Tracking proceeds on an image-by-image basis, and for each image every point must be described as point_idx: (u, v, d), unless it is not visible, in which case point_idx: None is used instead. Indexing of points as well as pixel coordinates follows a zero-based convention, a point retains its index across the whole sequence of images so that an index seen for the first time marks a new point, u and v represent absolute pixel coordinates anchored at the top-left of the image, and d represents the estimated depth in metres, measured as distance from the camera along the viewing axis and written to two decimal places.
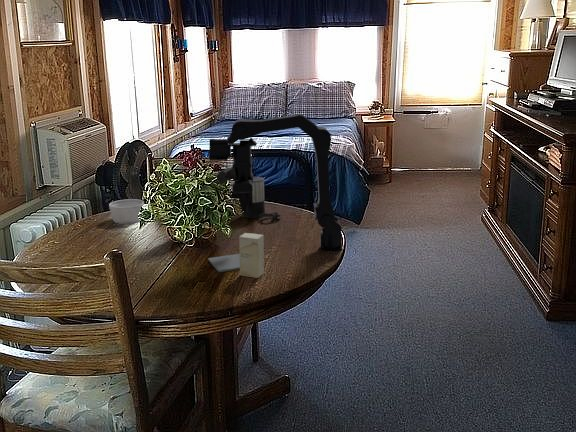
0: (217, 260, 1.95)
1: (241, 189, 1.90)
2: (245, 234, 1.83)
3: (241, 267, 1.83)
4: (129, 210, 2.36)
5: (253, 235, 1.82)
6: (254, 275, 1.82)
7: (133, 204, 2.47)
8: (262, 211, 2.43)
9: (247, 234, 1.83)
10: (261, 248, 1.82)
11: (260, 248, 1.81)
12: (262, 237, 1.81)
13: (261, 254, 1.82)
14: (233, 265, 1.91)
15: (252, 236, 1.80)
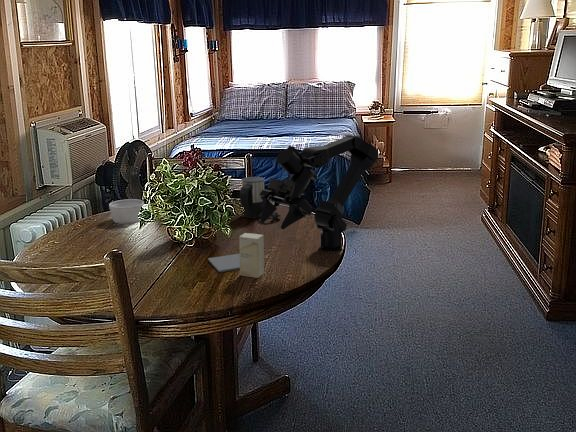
0: (217, 260, 1.95)
1: (306, 208, 1.81)
2: (245, 234, 1.83)
3: (241, 267, 1.83)
4: (129, 210, 2.36)
5: (253, 235, 1.82)
6: (254, 275, 1.82)
7: (133, 204, 2.47)
8: None
9: (247, 234, 1.83)
10: (261, 248, 1.82)
11: (260, 248, 1.81)
12: (262, 237, 1.81)
13: (261, 254, 1.82)
14: (233, 265, 1.91)
15: (252, 236, 1.80)
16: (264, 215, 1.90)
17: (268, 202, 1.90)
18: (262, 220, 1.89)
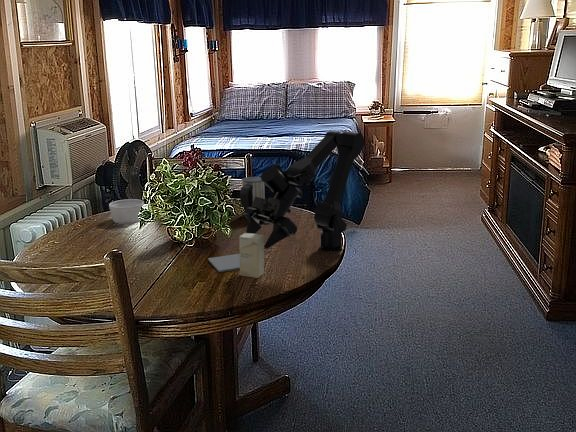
0: (217, 260, 1.95)
1: (290, 227, 1.79)
2: (245, 234, 1.83)
3: (241, 267, 1.83)
4: (129, 210, 2.36)
5: (253, 235, 1.82)
6: (254, 275, 1.82)
7: (133, 204, 2.47)
8: None
9: (247, 234, 1.83)
10: (261, 248, 1.82)
11: (260, 248, 1.81)
12: (262, 237, 1.81)
13: (261, 254, 1.82)
14: (233, 265, 1.91)
15: (252, 236, 1.80)
16: None
17: (252, 220, 1.88)
18: None
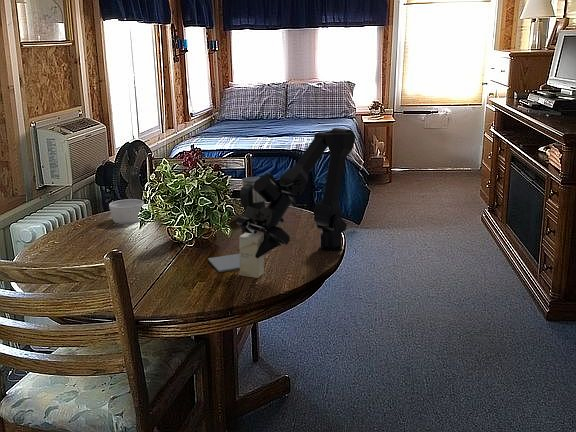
0: (217, 260, 1.95)
1: (283, 237, 1.77)
2: (245, 234, 1.83)
3: (241, 267, 1.83)
4: (129, 210, 2.36)
5: (253, 235, 1.82)
6: (254, 275, 1.82)
7: (133, 204, 2.47)
8: None
9: (247, 234, 1.82)
10: None
11: None
12: (262, 237, 1.81)
13: None
14: (233, 265, 1.91)
15: (252, 236, 1.80)
16: None
17: (247, 230, 1.86)
18: None
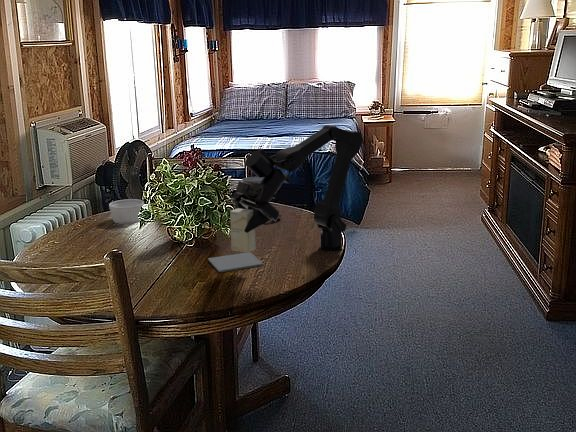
0: (217, 260, 1.95)
1: (271, 212, 1.78)
2: (237, 209, 1.85)
3: (232, 242, 1.85)
4: (129, 210, 2.36)
5: (244, 210, 1.83)
6: (244, 250, 1.84)
7: (133, 204, 2.47)
8: None
9: (239, 209, 1.84)
10: None
11: None
12: None
13: None
14: (233, 265, 1.91)
15: (242, 211, 1.82)
16: None
17: (240, 206, 1.88)
18: None
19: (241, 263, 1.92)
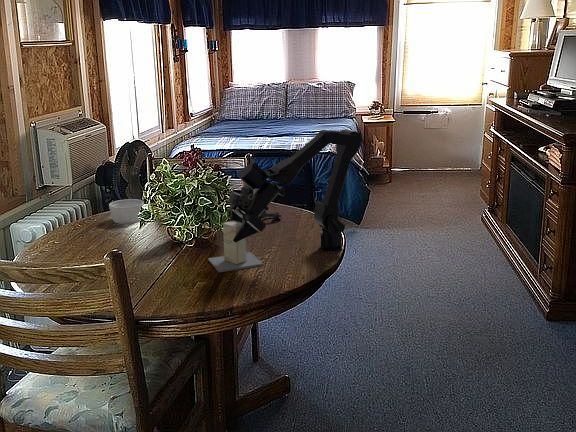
0: (217, 260, 1.95)
1: (256, 224, 1.84)
2: (230, 221, 1.93)
3: (225, 252, 1.94)
4: (129, 210, 2.36)
5: (236, 223, 1.91)
6: (234, 261, 1.92)
7: (133, 204, 2.47)
8: (263, 211, 2.43)
9: (232, 222, 1.93)
10: None
11: None
12: None
13: (242, 242, 1.91)
14: (233, 265, 1.91)
15: (233, 224, 1.90)
16: None
17: (234, 214, 1.96)
18: None
19: (241, 263, 1.92)
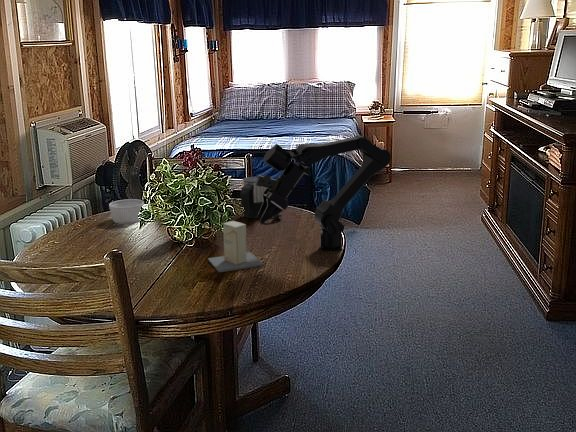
0: (217, 260, 1.95)
1: (278, 201, 1.87)
2: (231, 222, 1.93)
3: (225, 252, 1.94)
4: (129, 210, 2.36)
5: (236, 223, 1.91)
6: (234, 261, 1.92)
7: (133, 204, 2.47)
8: None
9: (232, 222, 1.93)
10: (242, 236, 1.90)
11: (240, 236, 1.90)
12: (243, 226, 1.90)
13: (242, 242, 1.91)
14: (233, 265, 1.91)
15: (233, 225, 1.90)
16: (261, 211, 2.01)
17: (266, 198, 2.01)
18: (259, 215, 2.01)
19: (241, 263, 1.92)
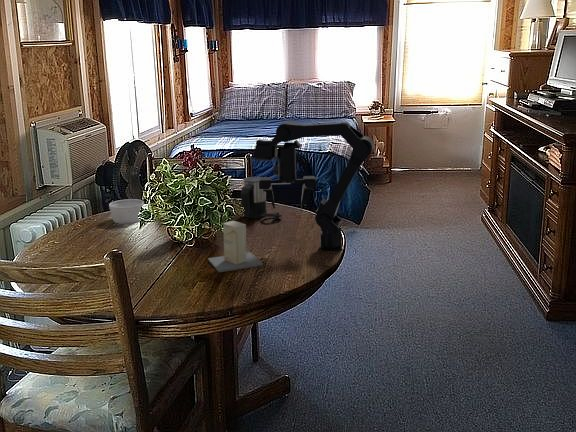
0: (217, 260, 1.95)
1: None
2: (231, 222, 1.93)
3: (225, 252, 1.94)
4: (129, 210, 2.36)
5: (236, 223, 1.91)
6: (234, 261, 1.92)
7: (133, 204, 2.47)
8: (263, 211, 2.43)
9: (232, 222, 1.93)
10: (242, 236, 1.90)
11: (240, 236, 1.90)
12: (243, 226, 1.90)
13: (242, 242, 1.91)
14: (233, 265, 1.91)
15: (233, 225, 1.90)
16: (301, 200, 2.07)
17: (302, 187, 2.06)
18: (301, 205, 2.07)
19: (241, 263, 1.92)
